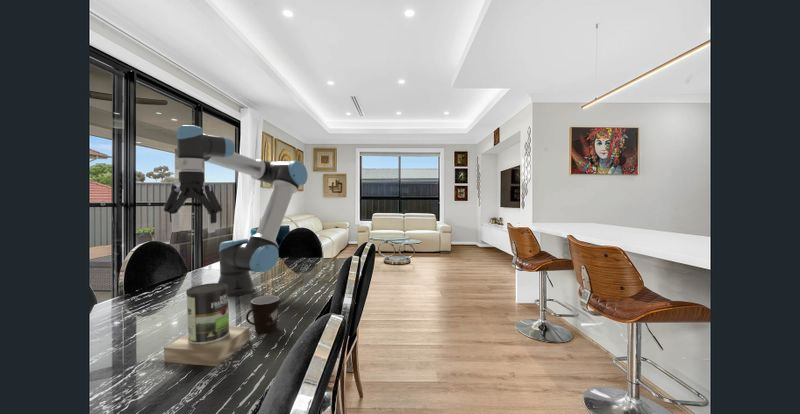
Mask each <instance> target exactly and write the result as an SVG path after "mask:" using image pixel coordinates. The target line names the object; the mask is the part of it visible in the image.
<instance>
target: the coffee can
mask: <svg viewBox="0 0 800 414" xmlns="http://www.w3.org/2000/svg"><path fill="white" fill-rule="evenodd" d="M185 293H186V303H187V304H186V307H187V311H186V312H187V334H188V342H189V343H191V344H195V345H203V344H210V343H214V342H217V341H220V340H222V339H224V338H226V337H227V336H228V335H229V326H230V323H229V321H230V320H229V319H230V318H229V316H230V315H229V314H230V313H229V296H228V285H227V284H223V283H218V282H214V283H213V282H212V283H204V284H199V285H195V286H192V287H189V288H187V289H186V291H185Z"/></svg>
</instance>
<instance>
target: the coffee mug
mask: <svg viewBox="0 0 800 414" xmlns="http://www.w3.org/2000/svg"><path fill="white" fill-rule="evenodd" d="M250 304H251V305H250V306H251V309H250V310H249V311H247V313H246V315H245V316H246V317H245V319H246V322H247V323H248V324H249V325H251V326H252V325H253V326H254V330H255V331H254V332H255V333H256V334H258V335H266V334H270V333H273V332H275V331H276V330H277V327H278V317H279V307H280V297H279V296H277V295H273V294H272V295H270V294H269V295H261V296H257V297H254V298H253V299H251V300H250ZM251 313H252V317H253V318H252V319H253V322H252V321H251V320H249V315H250V314H251Z"/></svg>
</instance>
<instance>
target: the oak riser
mask: <svg viewBox="0 0 800 414" xmlns="http://www.w3.org/2000/svg"><path fill="white" fill-rule="evenodd" d="M250 331H251V330H250V327H249V326H236V325H229V335H228V336H227V337H226V338H224V339H222V340H220V341H217V342H214V343H210V344H203V345H195V344H191V343H189V342H188V333H187V334H185V335H183V336H182V337H180V338H178V339H177V340H175V341H173V342H171V343H170V344H167V346H164V347H163V353H164V354H163V355H164V363H168V364H169V363H170V364H182V365H183V364H184V365H196V366H211V367H218V366H219V365H220V364H221V363H223V362H224V361H225V360H226V359H227V358H229V357H230V356H232V354H234V353H236V350H237V349H238V350H239V349H240V348H242V347H243V346H244V345H245V344H246V342H247V341H248V342H249V341H250V340H251V336H250V335H251V334H250ZM248 342H247V343H248ZM242 345H243V346H242ZM241 346H242V347H241ZM238 350H237V351H238Z"/></svg>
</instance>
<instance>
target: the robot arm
mask: <svg viewBox="0 0 800 414" xmlns="http://www.w3.org/2000/svg"><path fill="white" fill-rule="evenodd" d="M177 127H178V128H177V133H176V140H177V142H176V143H177V145H176V150H177V161H178V170H179V172H178V182H179V183H180V185H178V184H173V185H171V190H170V194H169V195H168V197H167V200H166V204H165V206H164V208H163V212H167V213H169V221H170V223H171V233H177V232H181V223H180V222H181V221H180V219H181V218H180V213H179V210H180V209H181V207H182V206H183V204H185V202H186V201H187V200H189V199H197V200H198V201H199V202H200V203H201V204H202V206H203V207H204V208H205V209H206V211H207V212H208V213H207V216H206V218H207V222H206V223H207V233H208V234H212V233H216V223H217V214H218V213H221V212H222V211H223V209H222V207H221V205H220V203H219V200H218V198H217V197H216V195H215V192H214V188H213V185H211V184H208V185H207V184H206V185H204V183H205V172H204V171H205V162H206V163H209V164H213V165H215V166H219V167H222V168H225V169H228V170H232V171H235V172H238V173H241V174H245V175H248V176H250V177H251V178H252V179H254V180H257V181H260V182H264V183H265V184H266V183H267V184H269V185H273V190H272V192H271V195H270V198H269V200H268V202H267V205H266V207H265V210H264V212H263V215H262V217H261V219H260V223H259V225H258V226H257V230H256V232H255V233H254V234H253V235H251V236H250V237H249V239H248V238H241V239H234V240H233V239H231V240H227V241H222V242H220V244H219V250H218V253H219V272H220V273H219V279H218V281H217V283H223V284H227V285H228V297H237V296H241V295H246V294H248V293H251V292H253V291H254V289H255V284H254V282H253V279H252V277H251V276H252V275H251V273H250V272H255V273H267V272H269V271H271V270H272V269H273V268H275V266H276V265H277V263H278V260H279V258H280V257H279V255H280V254H279V249H278V248H277V247H278V243H277V241H276V239H277V237H278V234H279V232H280V228H281V226H282V223H283V221H284V218H285V215H286V213H287V209H288V207H289V204H290V202H291V199H292V197H293V195H294V194H295V193H297V192H298V190H299V188H300V186H303V185H305V184H306V183H307V181H308V178H309V177H308V171H307V168H306V165H305V164H304V163H303V162H301V161H299V160H293V159H292V160H291V159H290V160H276V161H271V160H269V161H267V160H263V159H258V158H257V159H254V158H251V157H248V156H246V155H243V154H239V153H237V152H235V150H236V149H235V143H234V141H233V140H232V139H231V138H229V137H224V136H217V135H210V134H206V133H204V130H203V128H202V127H201V126H198V125H189V124H184V125H179V126H177Z"/></svg>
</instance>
